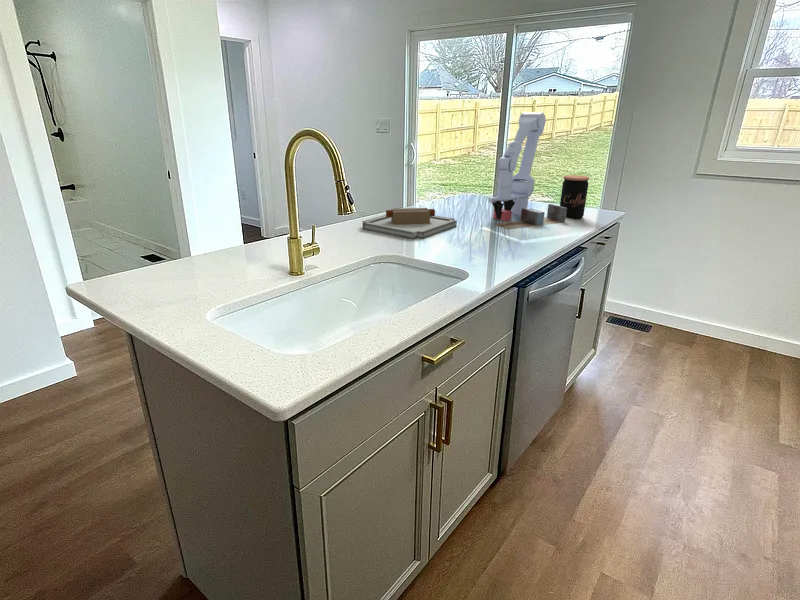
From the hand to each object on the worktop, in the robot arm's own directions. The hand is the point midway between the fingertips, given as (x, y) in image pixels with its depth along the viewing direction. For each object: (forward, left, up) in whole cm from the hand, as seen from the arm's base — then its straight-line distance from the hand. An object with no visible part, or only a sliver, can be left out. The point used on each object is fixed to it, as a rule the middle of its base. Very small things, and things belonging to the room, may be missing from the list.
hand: (502, 218), depth 202 cm
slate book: (+11, +8, 0) cm, 14 cm away
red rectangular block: (0, 0, -1) cm, 1 cm away
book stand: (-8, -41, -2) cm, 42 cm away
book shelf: (+11, +6, -1) cm, 13 cm away
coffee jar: (+7, +33, -2) cm, 34 cm away
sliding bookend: (+11, +5, 0) cm, 12 cm away
